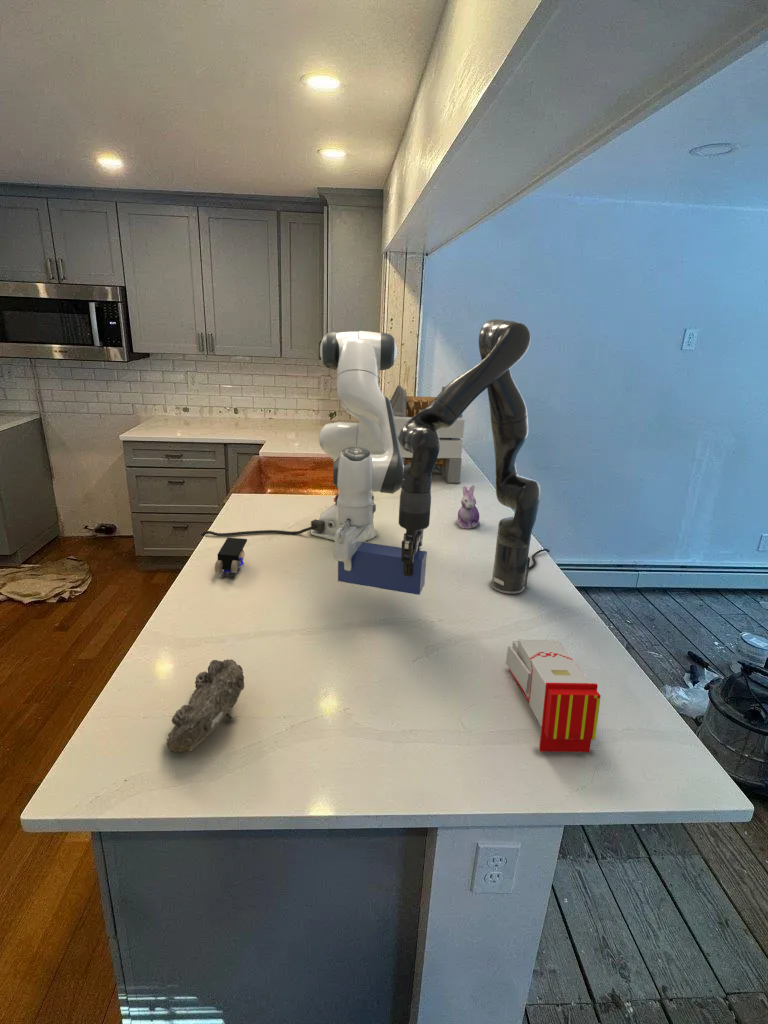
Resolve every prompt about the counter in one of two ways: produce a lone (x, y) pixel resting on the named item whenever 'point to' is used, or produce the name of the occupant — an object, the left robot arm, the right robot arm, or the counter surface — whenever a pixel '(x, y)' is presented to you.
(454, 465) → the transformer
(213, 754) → the counter surface
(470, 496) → the figurine
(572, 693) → the toy
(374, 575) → the box
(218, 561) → the figurine character
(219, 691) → the fossil
